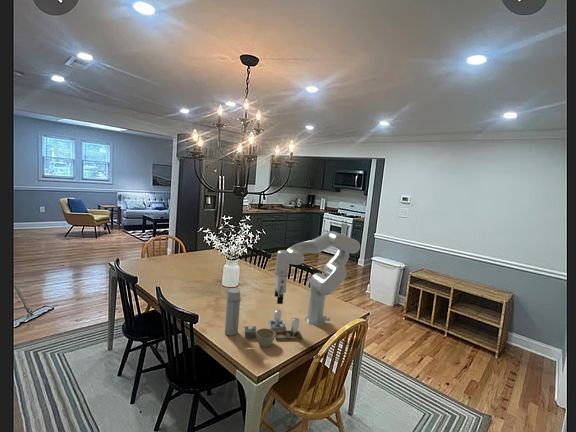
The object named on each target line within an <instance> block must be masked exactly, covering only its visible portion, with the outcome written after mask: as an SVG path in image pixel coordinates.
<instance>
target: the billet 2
mask: <svg viewBox="0 0 576 432" xmlns="http://www.w3.org/2000/svg"><path fill="white" fill-rule="evenodd" d="M299 325H300V318H297V317H293V318H291V327H290V331H291V335H290V336H291V337H298V330H299Z"/></svg>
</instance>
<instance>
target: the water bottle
mask: <svg viewBox="0 0 576 432" xmlns="http://www.w3.org/2000/svg"><path fill="white" fill-rule="evenodd" d="M226 295H227V296H226V308H225V309H226V310H225V320H224V321H225V322H224V323H225V324H224V333H225V335H227V336H230V337H231V336H235V335H237V334H238V332H239V320H240V307H241V306H240V305H241V302H242V298H241V290H240V289H239V288H234V287H232V288H228V289H227V294H226Z"/></svg>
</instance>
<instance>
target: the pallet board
mask: <svg viewBox="0 0 576 432" xmlns="http://www.w3.org/2000/svg"><path fill="white" fill-rule="evenodd" d="M273 331H274V332H275V337H274V340H275V341H302V340H303V336H302V334H301V332H300V330H299V329H298V337H291V336H290V335H291V330H273Z"/></svg>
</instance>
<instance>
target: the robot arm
mask: <svg viewBox="0 0 576 432" xmlns="http://www.w3.org/2000/svg"><path fill="white" fill-rule="evenodd" d="M330 247H334V248H335V249H337V250H336V253H335V254H334V255H333V256H332V257H331V259H330V260H329V261H328V262H326V263H325V265H324V267H323V270H322V271H323V273H324V274H325V275H326V276H325V275H324V274H323V273H320V272H316V273H312V275H311V276H310V279H309V287H310V288H309V299H308V309H307V317H305V318H304V322H305V323H306V324H307V325H310V326H313V327H314V326H315V327H321V326H322V327H324V326H325V325H326V324H325V323H326V322H328V321H329V322H330V321H331V318H330V317H328V316H327V315H325V316H324V311H325V301H326V296H329V295H331V294H332V293H334V292H335V291H336V289H337V288H338V287H339V286H340V285H341V284H342V283H343V282H344V281H345V279H346V278H347V270H346V268H345V265H346V264H347V263H348V260H349V258H350V254H356V253H358V252H360V249H361V244H360V242H359V241H358V240H357V239H354V238H352V237H350V236H348V235H343V234H342V233H339V232H337V231H334V230H329V231H327V232H325V233H323V234H321V235H319V236H318V237H316V238H313V239H312V240H311V239H310V240H307V241H302V242H297V243H295V244H294V245H292V246H290V247H288V248H287V249H286V250H285V249H283V250H282V249H281V250H278V251H277V253H276V259H275V260H276V261H275V270H274V275H275V276H276V277H275V284H274V287H275V290H274V297H276V299H277V300H276V304H277V305H283V304H284V294H285V293H286V292H287V291H286V290H287V277H288V276H289V268H290V265H294V266H299V265H301V264H303V263H304V261H305V256H304V254H306V253H307V254H308V253H309V254H310V253H311V254H319V253H321V252H324V251H326V250H328V249H329V248H330Z"/></svg>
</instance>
